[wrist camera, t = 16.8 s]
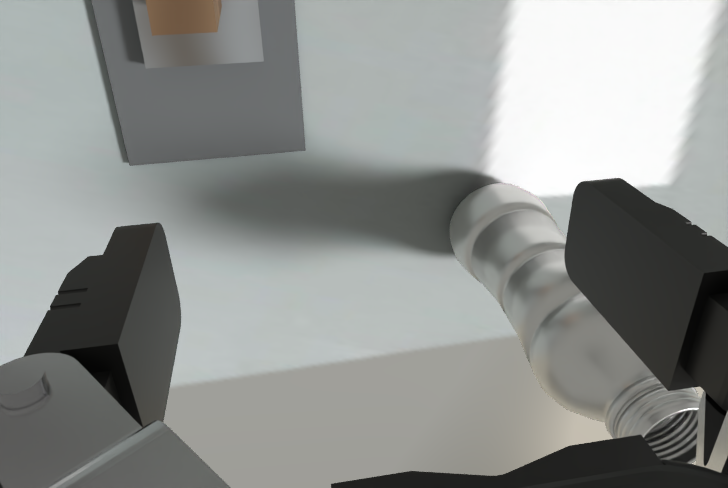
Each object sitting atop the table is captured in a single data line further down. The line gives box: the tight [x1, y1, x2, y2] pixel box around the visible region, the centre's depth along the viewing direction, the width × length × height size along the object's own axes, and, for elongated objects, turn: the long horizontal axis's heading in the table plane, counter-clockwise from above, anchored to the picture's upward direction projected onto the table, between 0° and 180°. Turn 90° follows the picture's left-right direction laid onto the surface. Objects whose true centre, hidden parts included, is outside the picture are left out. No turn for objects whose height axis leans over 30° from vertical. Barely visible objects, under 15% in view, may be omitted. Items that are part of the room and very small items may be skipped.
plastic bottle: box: [449, 183, 701, 464], centre depth 31 cm, size 6×7×20 cm
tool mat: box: [91, 0, 305, 166], centre depth 32 cm, size 10×10×1 cm
